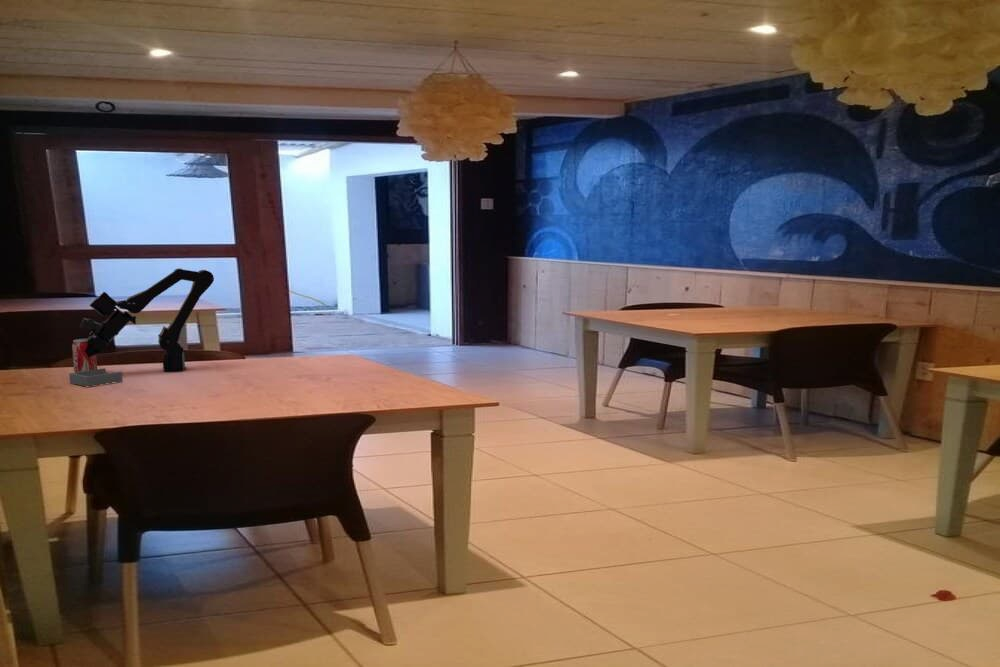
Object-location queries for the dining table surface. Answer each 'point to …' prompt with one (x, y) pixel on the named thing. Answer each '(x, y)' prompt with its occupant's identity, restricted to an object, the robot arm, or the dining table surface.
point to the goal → (94, 377)
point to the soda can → (82, 356)
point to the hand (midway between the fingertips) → (80, 358)
